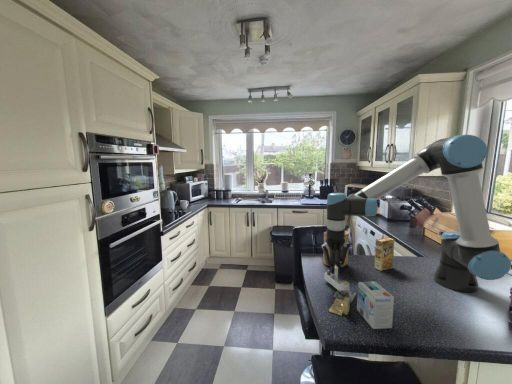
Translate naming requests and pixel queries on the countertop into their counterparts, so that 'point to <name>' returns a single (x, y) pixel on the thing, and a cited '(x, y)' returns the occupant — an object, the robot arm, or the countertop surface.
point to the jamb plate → (340, 296)
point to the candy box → (384, 253)
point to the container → (341, 248)
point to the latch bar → (337, 283)
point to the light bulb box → (375, 305)
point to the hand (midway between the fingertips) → (334, 280)
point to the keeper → (340, 306)
